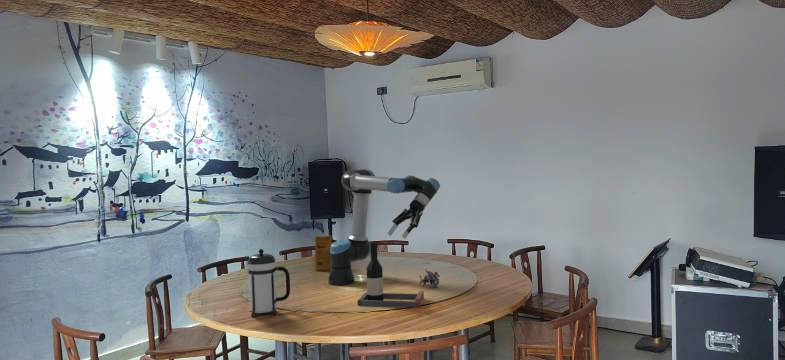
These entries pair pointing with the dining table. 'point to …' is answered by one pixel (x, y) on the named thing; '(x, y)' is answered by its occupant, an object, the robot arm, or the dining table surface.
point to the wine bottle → (374, 276)
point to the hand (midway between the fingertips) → (395, 235)
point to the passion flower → (431, 279)
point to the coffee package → (322, 253)
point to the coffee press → (264, 283)
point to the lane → (416, 303)
